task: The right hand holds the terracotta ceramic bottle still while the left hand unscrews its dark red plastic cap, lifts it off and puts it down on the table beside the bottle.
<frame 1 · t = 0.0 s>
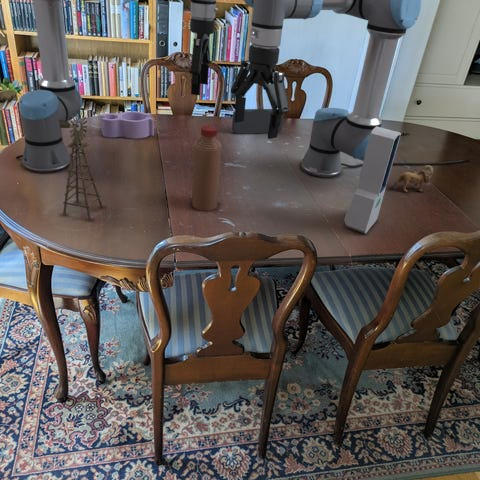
left hand: (199, 89, 153), 28 cm above the table, tool pointing down, fingers open, 13 cm apart
right hand: (255, 129, 126), 28 cm above the table, tool pointing down, fingers open, 13 cm apart
bottle: (204, 204, 146), on the table
lion figurine: (410, 189, 170), on the table
cap: (209, 129, 133), point 24 cm above the table, screwed on, not yet turned
clip: (128, 133, 190), on the table
miniature windmill: (83, 211, 136), on the table
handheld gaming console: (256, 132, 205), on the table
electronic device: (360, 223, 145), on the table
sword: (389, 138, 214), on the table
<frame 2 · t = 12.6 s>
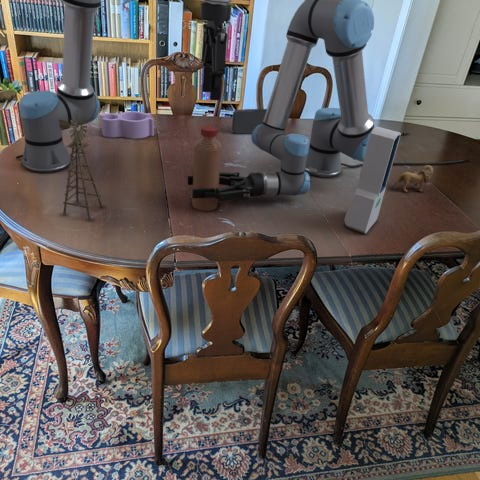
left hand: (211, 95, 128), 34 cm above the table, tool pointing down, fingers open, 7 cm apart
right hand: (190, 187, 141), 6 cm above the table, tool horizontal, fingers closed on bottle, 8 cm apart
bottle: (204, 204, 146), on the table, touching right hand
everything else where it was.
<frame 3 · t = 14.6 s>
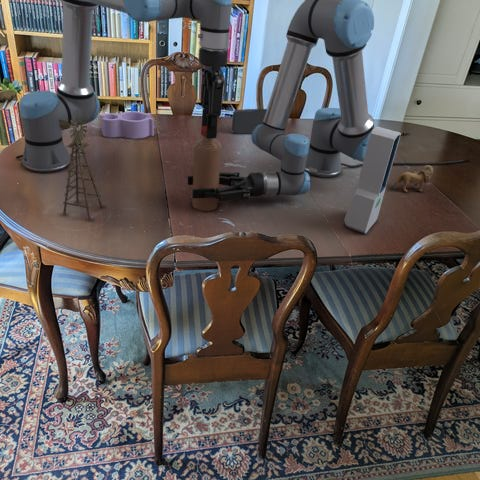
left hand: (208, 134, 134), 23 cm above the table, tool pointing down, fingers closed on cap, 4 cm apart
right hand: (190, 187, 141), 6 cm above the table, tool horizontal, fingers closed on bottle, 8 cm apart
bottle: (204, 204, 146), on the table, touching right hand
cap: (209, 129, 133), point 24 cm above the table, screwed on, not yet turned, touching left hand
everything else where it was.
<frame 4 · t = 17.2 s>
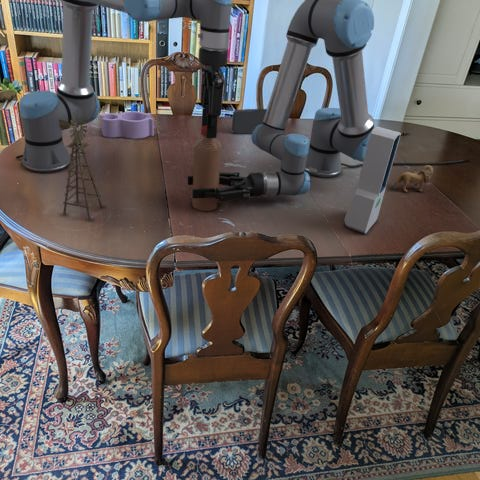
left hand: (208, 134, 133), 23 cm above the table, tool pointing down, fingers closed on cap, 4 cm apart
right hand: (190, 187, 141), 6 cm above the table, tool horizontal, fingers closed on bottle, 8 cm apart
bottle: (204, 204, 146), on the table, touching right hand
cap: (209, 128, 133), point 25 cm above the table, turned 77° so far, risen 0.1 cm, still on its thread, touching left hand
everything else where it was.
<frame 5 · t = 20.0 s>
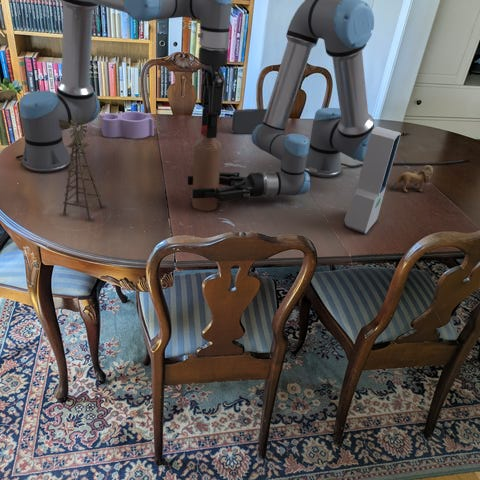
left hand: (208, 133, 133), 23 cm above the table, tool pointing down, fingers closed on cap, 4 cm apart
right hand: (190, 187, 141), 6 cm above the table, tool horizontal, fingers closed on bottle, 8 cm apart
bottle: (204, 204, 146), on the table, touching right hand
cap: (209, 128, 133), point 25 cm above the table, turned 153° so far, risen 0.1 cm, still on its thread, touching left hand
everything else where it was.
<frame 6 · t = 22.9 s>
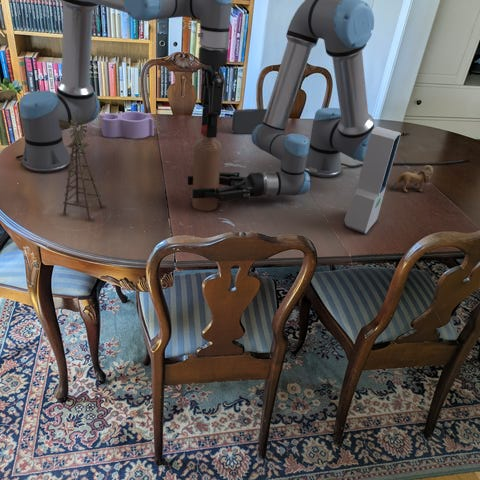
left hand: (208, 133, 133), 23 cm above the table, tool pointing down, fingers closed on cap, 4 cm apart
right hand: (190, 187, 141), 6 cm above the table, tool horizontal, fingers closed on bottle, 8 cm apart
bottle: (204, 204, 146), on the table, touching right hand
cap: (209, 128, 133), point 25 cm above the table, turned 230° so far, risen 0.2 cm, still on its thread, touching left hand
everything else where it was.
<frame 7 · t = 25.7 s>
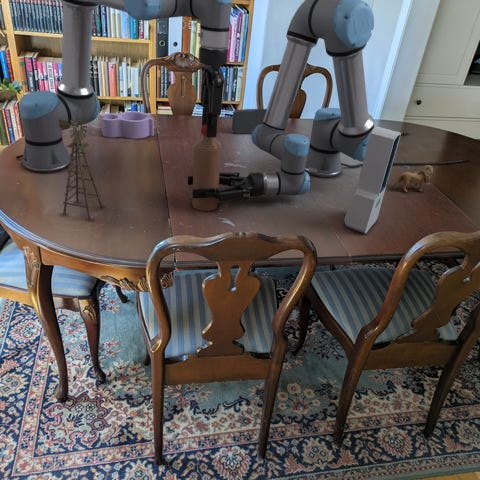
left hand: (208, 133, 133), 23 cm above the table, tool pointing down, fingers closed on cap, 4 cm apart
right hand: (190, 187, 141), 6 cm above the table, tool horizontal, fingers closed on bottle, 8 cm apart
bottle: (204, 204, 146), on the table, touching right hand
cap: (209, 128, 133), point 25 cm above the table, turned 306° so far, risen 0.3 cm, still on its thread, touching left hand
everything else where it was.
when the left hand's fingers open (2 cm above the table, at t = 36.0 s): cap drops 2 cm, point 2 cm above the table.
when the right hand's fingers open (6 cm above the table, at t = 37.3 s): bottle stays where it is, on the table.
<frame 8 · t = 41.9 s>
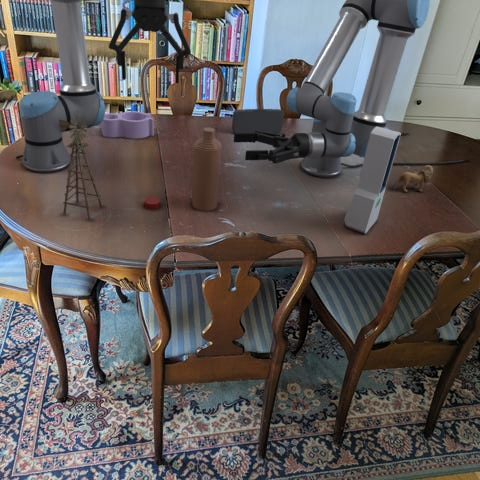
left hand: (150, 80, 122), 37 cm above the table, tool pointing down, fingers open, 13 cm apart
right hand: (239, 146, 138), 19 cm above the table, tool horizontal, fingers open, 13 cm apart
bottle: (204, 204, 146), on the table
cap: (152, 201, 141), point 2 cm above the table, off its thread
everything else where it was.
at the end: cap came off its thread; cap point 1.6 cm above the table; the left hand is holding nothing; the right hand is holding nothing; bottle tilted 0°; bottle moved 0.0 cm from its start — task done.
